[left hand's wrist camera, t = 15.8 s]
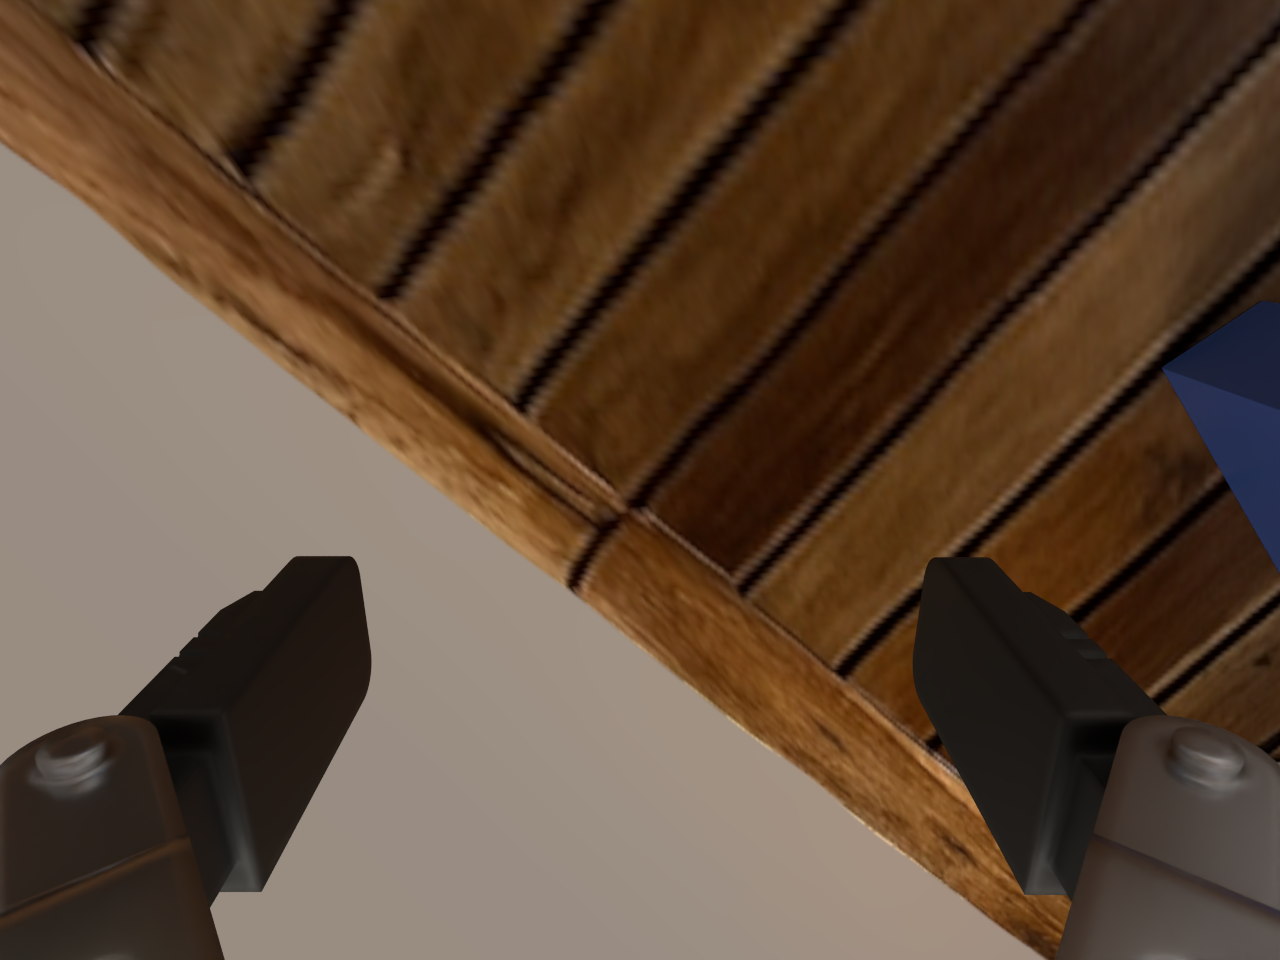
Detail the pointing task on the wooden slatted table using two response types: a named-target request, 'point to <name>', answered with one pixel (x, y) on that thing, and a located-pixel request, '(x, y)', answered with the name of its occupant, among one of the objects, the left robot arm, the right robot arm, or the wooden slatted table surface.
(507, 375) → the wooden slatted table surface
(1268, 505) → the bar
